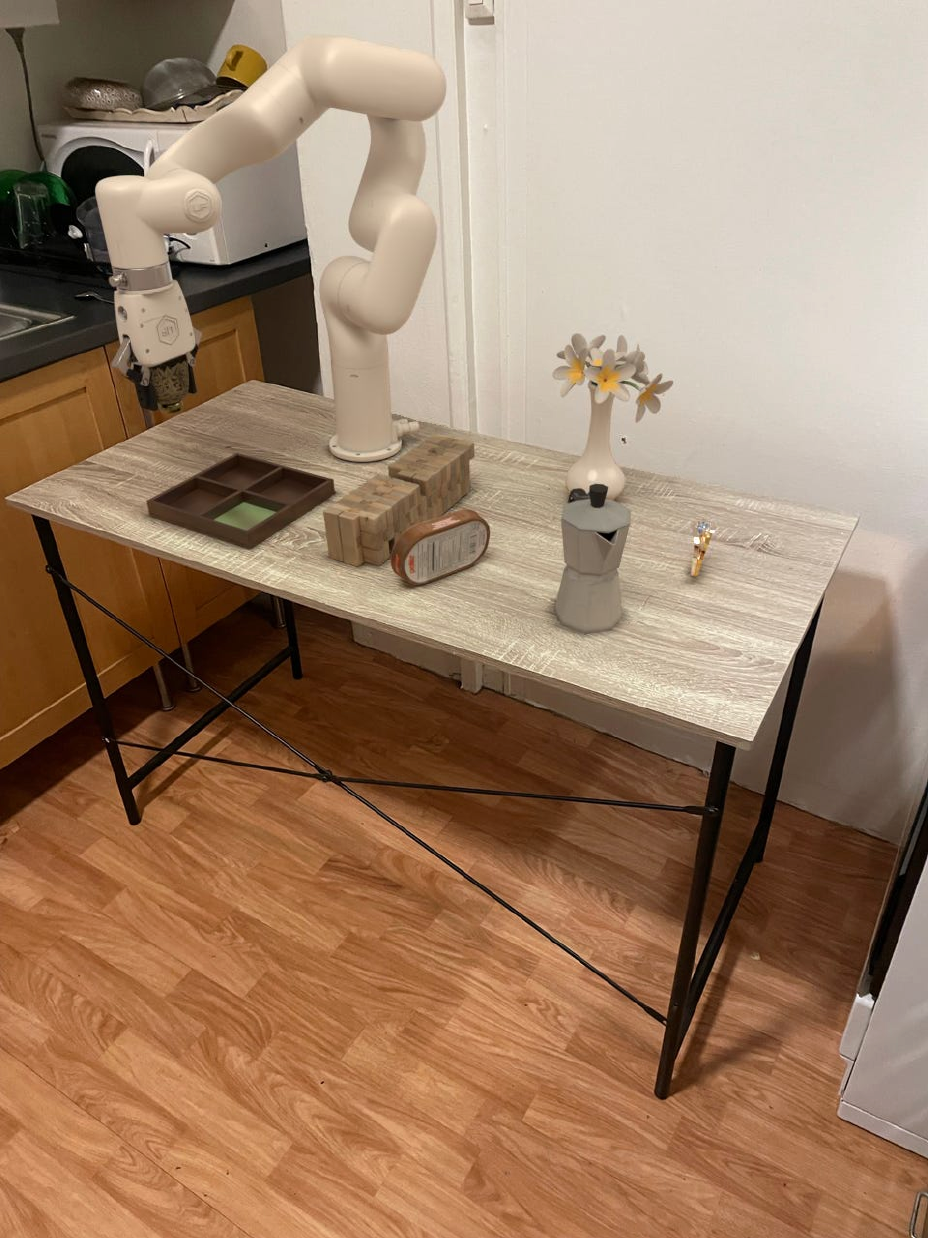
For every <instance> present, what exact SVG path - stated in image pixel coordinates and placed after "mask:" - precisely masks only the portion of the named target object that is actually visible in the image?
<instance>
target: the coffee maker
mask: <svg viewBox="0 0 928 1238" xmlns="http://www.w3.org/2000/svg"><path fill="white" fill-rule="evenodd" d="M607 492H608V487H607V486H606V485H604V484H593V485H590V487H589V492H588V495H587V494H586V492H585V491H584V490H583V489H581V488H576V489H573V490H572V491H571V492H569V495H568V499H567V503H566V504H563V508H562V513H561V519H560V522H561V539H562V549H563V550H562V551H563V562H564V564H566V565H565V566H564V567H563V571H562V576H561V579H560V583H559V588H558V591H557V595H556V599H555V604H554V607H553V612H554V614H555V616H556V618H557V620H558V621H559V622H558V623H560V626H563V627H566V628H568V629H572V630H574V631H577V632H580V633H583V634H590V633H597V632H605V631H606V632H607V631H611V630H612V629H613V628H614V627H615V626H616V624H617V623H619V621H620V620H621V619H622V618H623V614H622V613H623V612H622V600H621V587H620V586H621V584H620V572H619V570H618V569H619V568H620V564H621V560H622V557H623V553H624V549H625V546H626V541H627V537H628V533H629V530H630V526H631V517H632V510H631V509H630V508H628V507H626V506H624V505H622V504H621V503H619V502H617V501H615V500H614V501H613V500H607V499H606V495H607Z"/></svg>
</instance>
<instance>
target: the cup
mask: <svg viewBox="0 0 928 1238" xmlns="http://www.w3.org/2000/svg"><path fill="white" fill-rule="evenodd" d="M138 369H139V374H141V370H142V366H140V367H139V366H138ZM150 372H151V373H150V379H149V383H151V384H153V386H154V390H155V394H156V399H157V403H158V411H159V412H160V413H162V414H166V415H172V414H177V413H179V412H181V411H182V410H183V409H184V402H183V400H184V399H186V397H187V396H188V390H189V372H188V358H187V355H186V354H185V357H184V358H183V357H182V356H179V357H177V358H175V359H172V360H170V361H167V362H165V363H162V364H159V365H157V366H153V367H151V368H150Z"/></svg>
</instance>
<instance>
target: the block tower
mask: <svg viewBox="0 0 928 1238" xmlns="http://www.w3.org/2000/svg"><path fill="white" fill-rule="evenodd" d="M474 458H475V442H473V441H469V440H465V439H459V438H454V437H450V436H446V435H442V434H441V435H440V434H435V433H433V434H431V435H430V436H428V437H426V438H425V439H424V441H421V443H419V445H417V446H416V447H415V448H412V449H411V450H409V451H408V452H406V454H403V455H401V456H400V457H399V458H398V459H397V460H395V461H394V462H391V463H389V465H388V466H387V469H388V475H384V474H380V473H377V474H376V475H374V476H373V477H371V478H369V479H368V480H367V481H366V482H364V483H362V485H360V486H358V487H356V488H355V489H353V490H351V491H350V492H349V493H348V494H346V495H344V496H343V497H342V498H340V499H338V500H337V501H336V502H335V503H333V504H332V505H331V506H328V507H326V508H325V509H323V510H322V516H323V522H324V529H325V536H326V537H325V538H326V544H327V552H328V558H329V559H332V560H336V561H339V562H344V563H345V564H347V565H351V566H355V567H360V566H361V565H362V564H363V563H368V564H372V565H375V566H377V567H378V566H380V567H381V566H382V565H383V564H384V563H385V561H387V560H388V559H389V558H391V552H392V549H393V546H394V544H395V543H396V541H397V539H398V538H399V537H400V536H401V534H402V533H403V532H404V531H406V530H407V529H408V528H410V527H411V526H413V525H416V524H419V523H422V522H425V521H428V520H431V519H434V518H437V517H440V516H443V515H444V513H445V512H447V511H448V510H449V509H451V508H452V507H453V506H454V505H455V504H457V503H458V502H459V501H460V500H461V499H462V498H463V497H464V496H465V495H467V494H469V493H470V492H471V483H470V482H471V478H470V475H471V474H470V473H471V471H470V461H471V460H472V459H474Z"/></svg>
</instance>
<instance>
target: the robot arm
mask: <svg viewBox="0 0 928 1238" xmlns="http://www.w3.org/2000/svg"><path fill="white" fill-rule="evenodd" d="M446 96H447V79H446V75H445V72H444V70H443V68H442V66H441V64H440V63H439V62H438V60H436V59H435V58H434V57H433V56H431V55H430V54H428V53H427V52H424V51H419V50H415V49H408V48H401V47H397V46H391V45H385V44H381V43H380V44H379V43H374V42H370V41H366V40H361V39H357V38H354V37H349V36H343V35H330V34H311V35H308V36H305V37H303V38H301V39H299V40H298V41H296V43H294V45H292V46H291V47H290V48H289V49H287V51H285V53H284V54H283V55H282V56H280V57H279V59H278V60H276V62H274V63H273V64H272V65H271V67H269V68H268V69H267V70H266V71H265V72H264V73H262V75H261V76H260V77H258V79H257V80H256V81H254V82H253V83H252V84H251V86H249V87H248V88H247V89H246V90H245V91H244V92H243V93H242V94H241V95H239V96H238V97H237V98H236V99H235V100H234V101H233V102H231V103H229V104H228V105H226V106H224V107H223V108H221V109H219V110H218V111H216V112H215V113H213V114H212V115H210V116H209V117H208V118H206V119H205V120H203V121H201V122H200V123H198V124H197V125H195V126H194V127H192V128H191V129H189V130H188V131H186V132H185V133H184V134H182V135H181V136H180V137H179V138H178V139H176V140H175V142H173V144H171V145H170V146H169V147H168V148H167V149H166V150H165V151H164V152H163V153H162V154H161V155H160V156H159V157H158V158H157V159H156V160H155V161H154V162H153V163H152V164H151V165H150V166H149V167H148V169H147V170H146V172H145V174H144V176H143V175H142V176H141V175H135V174H133V175H126V174H125V175H115V176H109V177H106V178H103V179H101V180H98V182H97V183H96V185H95V189H94V194H95V199H96V203H97V208H98V213H99V217H100V220H101V225H102V231H103V233H104V239H105V242H106V243H105V244H106V247H107V252H108V257H109V261H110V265H111V269H112V273H113V275H112V276H109V278H108V282H109V284H110V285H111V287H113V288H116V290H115V291H114V311H115V313H114V314H115V321H116V329H117V334H118V339H119V344H120V346H119V348H118V350H117V352H116V354H115V356H114V357H113V359H112V361H111V364H110V366H111V368H113V369H114V370H115V371H117V372H118V373H119V374H121V376H122V377H124V378H125V379H127V380H129V382H130V383H132V384H134V387H135V392H136V396H137V400H138V403H139V407H140V408H141V409H145V410H147V411H152V412H156V411H159V409H158V403H157V399H156V394H155V390H154V386H153V384H151V383H149V379H150V373H151V372H150V368H151V367H153V366H157V365H159V364H162V363H165V362H167V361H170V360H172V359H175V358H177V357H179V356H182V357H183V358H184V357H185V354H186V355H187V358H188V372H189V390H188V393H189V394H193V395H194V394H197V393H198V389H197V385H196V379H195V378H196V377H195V374H194V369H193V367H194V366H195V365H196V356H197V354H198V351H199V346H200V342H201V340H202V337H203V333H202V331H201V330H199V329H198V328H196V327H195V326H193V323H192V319H191V315H190V311H189V308H188V305H187V301H186V299H185V295H184V294H183V290H182V289H181V286H180V284H179V282H178V280H176V279H173V275H172V269H171V264H170V260H169V255H168V249H167V244H166V238H165V234H199V233H200V234H201V233H203V232H206V231H209V230H210V229H212V228H213V227H214V226H215V225H216V224H217V223H218V221H219V220H220V218H221V216H222V211H223V200H222V197H221V194H220V191H219V190H218V188H217V187H216V184H217V183H218V182H220V181H221V180H223V179H224V178H226V176H228V175H230V174H232V173H234V172H235V171H238V170H240V169H243V168H245V167H251V166H254V165H255V166H256V165H258V164H262V163H266V162H269V161H272V160H273V159H275V158H278V157H279V156H281V155H282V154H284V152H286V150H288V149H289V148H290V147H291V146H292V145H293V144H294V143H295V142H296V141H297V140H298V139H299V138H300V137H301V136H302V135H303V134H304V133H305V132H306V131H307V130H308V129H309V128H311V126H312V125H313V124H315V122H316V121H318V120H319V119H320V118H321V117H322V116H323V115H324V114H325V113H326V112H327V111H329V109H335V110H341V111H347V112H351V113H352V112H353V113H357V114H361V115H366V117H367V120H368V124H369V129H370V146H369V151H368V155H367V159H366V162H365V166H364V169H363V172H362V175H361V178H360V181H359V184H358V187H357V190H356V194H355V196H354V199H353V202H352V205H351V209H350V212H349V217H348V232H349V234H350V237H351V238H352V240H353V241H354V242H355V243H356V244H357V245H358V246H360V247H361V248H363V249H364V250H366V251H369V252H371V253H372V256H371V259H370V260H368V259H365V258H363V257H359V256H357V255H356V256H355V255H342V256H338V257H337V258H334V259H332V260H331V261H330V262H329V263H328V264H327V265H326V266H325V268H324V269H323V272H322V273H321V276H320V280H319V291H318V292H319V299H320V304H321V305H320V306H321V309H322V313H323V317H324V321H325V326H326V330H327V337H328V344H329V355H330V368H331V369H330V370H331V379H332V380H331V381H332V390H333V403H334V412H335V424H336V433H335V435H333V436H332V437H331V438H330V440H329V443H328V447H329V451H330V453H331V454H332V455H333V456H335V457H336V458H339V459H342V460H344V461H349V462H357V463H359V462H360V463H368V462H377V461H381V460H386V459H388V458H391V457H392V456H393V457H394V455H396V454H398V453H399V452H400V451H401V450H402V447H403V440H402V437H403V435H407V434H416V433H417V434H418V433H419V432H420V424H419V421H417V420H416V421H415V420H414V421H409V422H408V418H401V419H398V420H395V419H393V417H392V401H391V400H392V399H391V382H390V379H391V378H390V362H389V359H390V357H389V356H390V355H389V344H388V337H387V335H391V334H395V332H398V331H399V330H400V329H401V328H402V327H404V325H405V324H406V323H407V322H408V321H409V318H410V317H411V315H412V313H413V311H414V308H415V306H416V303H417V301H418V298H419V296H420V293H421V289H422V286H423V285H424V281H425V279H426V275H427V273H428V270H429V267H430V264H431V262H432V259H433V255H434V253H435V249H436V245H437V237H438V227H437V226H438V225H437V220H436V216H435V214H434V211H433V210H432V208H431V206H430V205H429V204H428V203H427V202H426V201H424V200H423V199H422V198H420V197H419V196H417V193H418V189H419V186H420V183H421V179H422V175H423V173H424V169H425V164H426V158H427V140H426V139H427V138H426V133H425V128H424V124H423V122H424V121H427V120H429V119H431V118H433V117H434V116H435V115H436V114H437V113H438V112H439V111H440V109H441V108H442V106H443V104H444V102H445V99H446ZM128 363H130V366H129V365H128ZM138 366H139V367H140V366H142V370H141V374H139V369H138ZM188 393H187V394H188Z"/></svg>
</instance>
